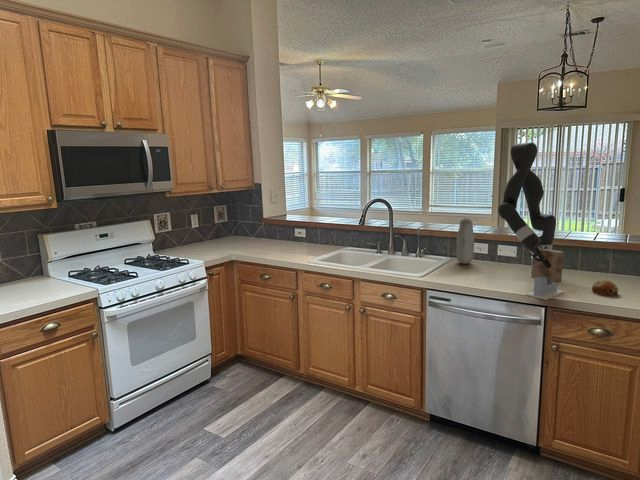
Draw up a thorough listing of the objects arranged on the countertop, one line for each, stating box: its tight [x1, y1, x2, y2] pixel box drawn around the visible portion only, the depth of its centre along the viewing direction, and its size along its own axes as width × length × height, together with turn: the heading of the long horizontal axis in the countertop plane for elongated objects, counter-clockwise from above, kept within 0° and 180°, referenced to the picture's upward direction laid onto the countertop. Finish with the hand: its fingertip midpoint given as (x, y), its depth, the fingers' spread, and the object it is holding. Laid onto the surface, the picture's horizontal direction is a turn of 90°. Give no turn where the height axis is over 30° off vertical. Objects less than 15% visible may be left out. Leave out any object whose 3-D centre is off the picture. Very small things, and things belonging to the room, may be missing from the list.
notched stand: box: [526, 276, 565, 301], centre depth 200 cm, size 17×9×9 cm, turn 126°
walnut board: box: [530, 249, 565, 284], centre depth 198 cm, size 12×4×14 cm, turn 37°
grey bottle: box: [455, 217, 475, 265], centre depth 260 cm, size 10×10×28 cm
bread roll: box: [591, 279, 619, 297], centre depth 200 cm, size 10×10×8 cm
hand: (551, 266), depth 196 cm, fingers closed on walnut board, 3 cm apart
